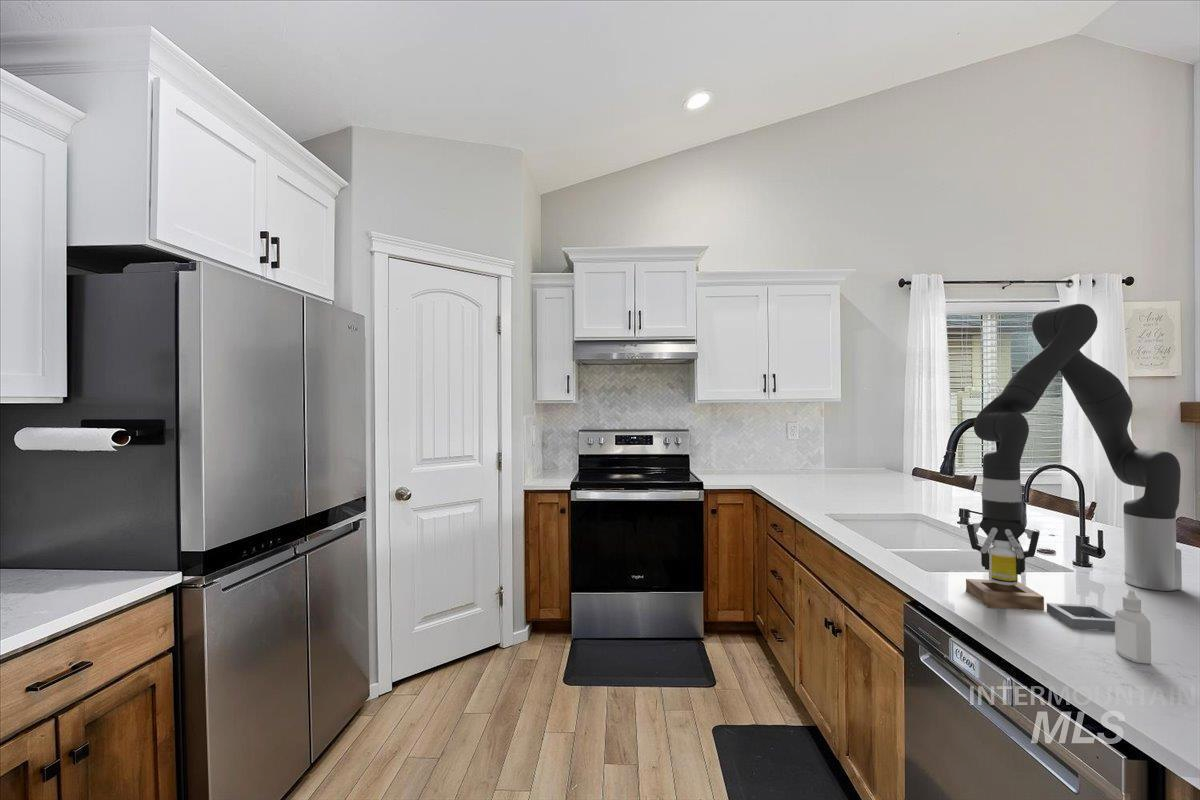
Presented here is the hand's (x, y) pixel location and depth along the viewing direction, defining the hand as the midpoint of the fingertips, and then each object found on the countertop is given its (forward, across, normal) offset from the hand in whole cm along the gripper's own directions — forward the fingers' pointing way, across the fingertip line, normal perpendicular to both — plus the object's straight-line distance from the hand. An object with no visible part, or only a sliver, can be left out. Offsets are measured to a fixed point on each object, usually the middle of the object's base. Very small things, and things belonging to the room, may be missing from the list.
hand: (1002, 571), depth 130 cm
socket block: (+7, 0, 0) cm, 7 cm away
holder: (+7, -14, +5) cm, 16 cm away
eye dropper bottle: (+7, -21, +20) cm, 30 cm away
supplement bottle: (+3, 0, 0) cm, 3 cm away
